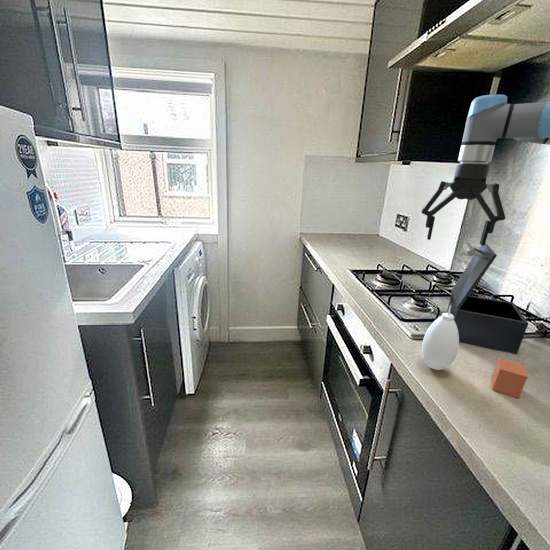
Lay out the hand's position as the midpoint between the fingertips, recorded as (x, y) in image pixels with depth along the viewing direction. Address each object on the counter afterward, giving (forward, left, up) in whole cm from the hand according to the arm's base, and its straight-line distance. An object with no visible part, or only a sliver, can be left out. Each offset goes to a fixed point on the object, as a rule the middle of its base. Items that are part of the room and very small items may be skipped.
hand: (454, 241), depth 87 cm
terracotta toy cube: (-17, +22, -28) cm, 40 cm away
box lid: (-7, -1, -9) cm, 12 cm away
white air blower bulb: (-2, +23, -28) cm, 37 cm away
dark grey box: (-12, -2, -28) cm, 31 cm away
